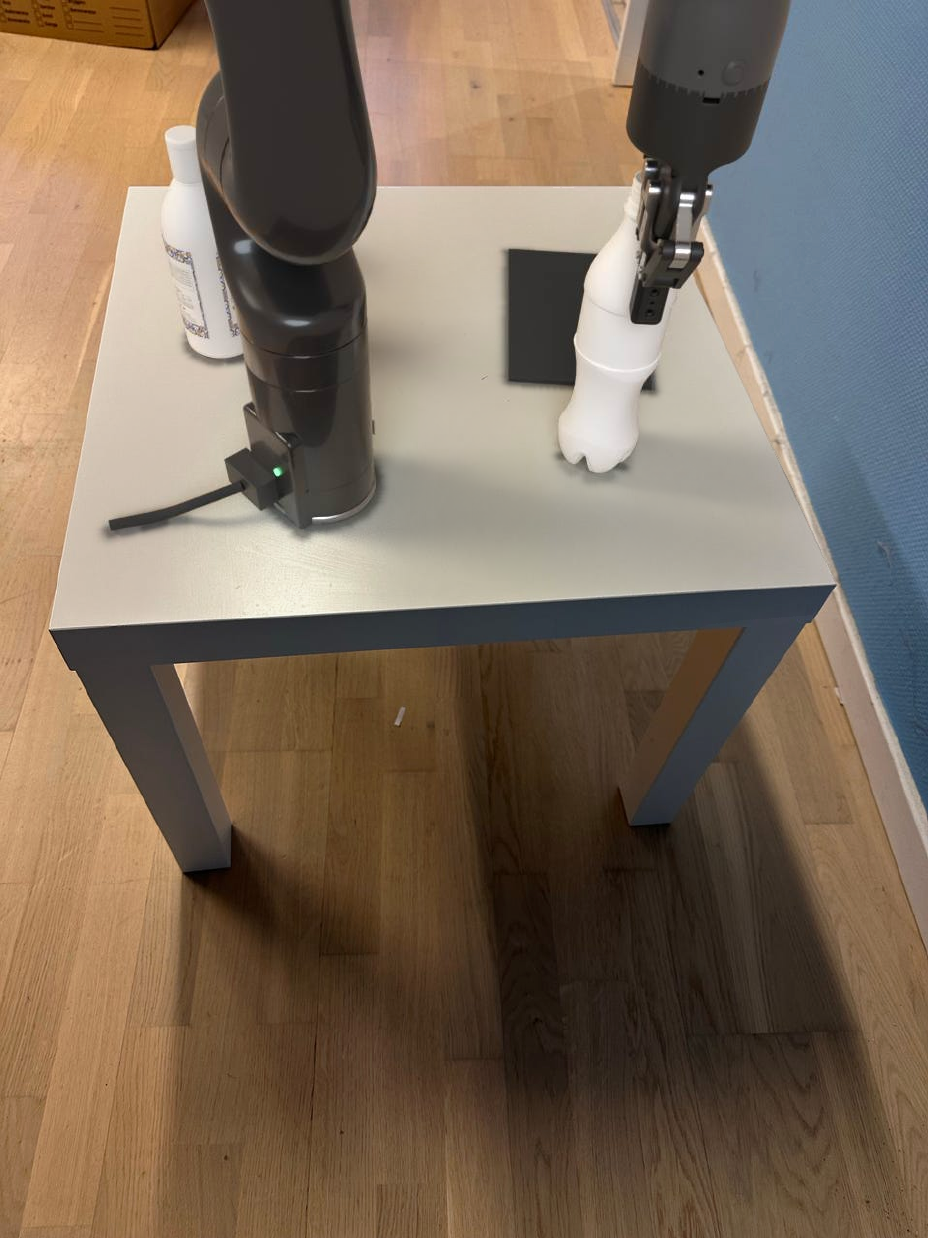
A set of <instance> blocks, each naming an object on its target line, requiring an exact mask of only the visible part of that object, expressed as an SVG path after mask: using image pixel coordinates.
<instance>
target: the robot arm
mask: <svg viewBox="0 0 928 1238" xmlns="http://www.w3.org/2000/svg"><path fill="white" fill-rule="evenodd" d="M203 1H204V4H205V7H206V11H207V14H208V19H209V22H210V26H211V31H212V34H213V39H214V44H215V49H216V54H217V58H218V60H217V61H218V65H219V70H217V72H216V73H215V74H214V76H212V78H211V79H210V80H209V82H208V84H207V85H206V86H205V90H204V91H203V94H202V95H201V99H200V101H199V105H198V109H197V113H196V119H195V128H196V148H197V156H198V162H199V168H200V173H201V178H202V183H203V187H204V192H205V197H206V202H207V206H208V211H209V216H210V220H211V225H212V229H213V234H214V238H215V243H216V248H217V252H218V257H219V261H220V265H221V268H222V272H223V275H224V278H225V281H226V283H227V286H228V289H229V292H230V294H231V297H232V300H233V304H234V307H235V312H236V317H237V322H238V327H239V333H240V338H241V343H242V349H243V354H242V355H243V360H244V365H245V371H246V376H247V382H248V387H249V393H250V397H251V401H249V402H247V403H245V404H244V405H243V406H242V412H243V417H244V423H245V429H246V432H247V437H248V442H249V448H250V449H249V448H248V447H247V446H245V447H244V448H242V449H241V450H239V451H237V452H235V453H233V454H231V455H230V456H228V457H226V458H224V460H223V461H224V465H225V470H226V473H227V478H228V482H229V483H230V484H228V485H224V486H222V487H220V488H216V489H215V490H211V491H209V492H207V493H204V494H201V495H198V496H196V497H193V498H191V499H188V500H185V501H182V502H180V503H177V504H174V505H172V506H167V507H164V508H161V509H156V510H153V511H148V512H142V513H139V514H138V513H137V514H133V515H128V516H122V517H118V518H113V519H108V526H109V528H110V531H116V530H121V529H122V530H123V529H128V528H131V527H136V526H142V525H147V524H152V523H156V522H160V521H163V520H168V519H172V518H174V517H178V516H181V515H184V514H187V513H189V512H191V511H194V510H197V509H200V508H202V507H205V506H207V505H210V504H213V503H216V502H218V501H220V500H223V499H226V498H228V497H231V496H233V495H236V494H239V493H241V494H242V495H243V497H245V498H246V499H247V500H248V501H249V502H251V504H252V505H253V506H255V508H257V509H258V511H260V512H262V511H264V510H265V509H267V508H269V507H271V506H272V505H273V506H274V507H275V508H276V509H277V510H278V511H279V512H281V513H282V514H283V515H284V516H286V517H287V518H288V519H289V520H290V521H291V522H292V523H293V524H294V525H295V526H296V527H297V528H298V529H300V530H303V529H306V528H308V527H309V526H311V525H316V524H317V525H318V524H319V525H323V524H332V523H337V522H340V521H341V522H342V521H344V520H346V519H349V518H351V517H353V516H355V515H356V514H359V512H362V510H363V509H365V507H367V505H369V503H370V502H371V501H372V498H373V497H374V495H375V492H376V487H377V474H376V473H377V472H376V468H375V452H374V451H375V450H374V436H375V435H376V427H375V420H373V412H372V391H371V390H372V388H371V368H370V365H371V364H370V346H369V345H370V342H369V321H368V319H369V318H368V299H367V297H368V295H367V287H366V281H365V278H364V275H363V271H362V269H361V266H360V264H359V262H358V258H357V255H356V252H355V250H354V248H353V246H355V244H356V243H357V242H358V241H359V239H360V237H361V236H362V234H363V233H364V231H365V230H366V228H367V226H368V223H369V221H370V218H371V216H372V214H373V210H374V206H375V201H376V198H377V191H378V190H377V189H378V179H379V175H378V161H377V155H376V154H377V153H376V147H375V142H374V135H373V131H372V126H371V120H370V114H369V110H368V104H367V99H366V94H365V93H366V92H365V89H364V88H365V87H364V82H363V77H362V76H363V75H362V72H361V71H362V70H361V64H360V60H359V54H358V49H357V43H356V37H355V29H354V22H353V17H352V15H353V14H352V7H351V0H203ZM791 4H792V0H648V2H647V5H646V11H645V16H644V22H643V28H642V33H641V38H640V44H639V49H638V53H637V55H638V56H637V61H636V65H635V66H636V67H635V71H634V77H633V81H632V82H633V83H632V89H631V95H630V100H629V104H628V111H627V116H626V121H625V130H626V134H627V137H628V139H629V141H630V142H631V144H632V145H633V146H634V148H636V149H637V151H640V153H642V159H643V164H642V168H641V170H642V173H641V182H642V186H641V196H640V203H639V208H638V214H637V227H636V232H635V235H637V241H639V246H638V251H636V259H637V264H640V265H638V267H637V272H636V277H635V281H634V286H633V290H632V295H631V299H630V304H629V310H630V319H631V322H632V323H634V324H642V325H657V324H659V323H660V322H661V320H662V316H663V312H664V308H665V305H666V301H667V297H668V293H669V289H670V288H673V289H678V290H681V289H682V287H683V286H684V285H685V283H686V282H687V281H688V280H689V278H690V277H691V276H692V274H693V273H694V272H695V271H696V269H697V268H698V266H699V265H700V264H701V262H702V260H703V258H704V256H705V247H704V246H705V245H704V242H703V241H698V240H696V239H697V236H698V233H699V229H700V225H701V222H702V218H703V217H705V216H706V215H707V213H708V212H709V210H710V209H709V208H710V206H711V202H712V198H713V193H714V183H712V182H709V176H710V175H711V173H713V172H714V171H716V170H717V169H719V168H721V167H724V166H726V165H730V164H733V163H734V162H737V161H738V160H739V159H741V158H742V157H743V156H744V155H745V154H746V153H747V152H748V151H749V149H750V147H751V146H752V142H753V139H754V136H755V133H756V129H757V125H758V122H759V118H760V115H761V112H762V110H763V109H762V108H763V105H764V103H765V102H764V101H765V98H766V94H767V92H768V88H769V85H770V82H771V79H772V75H773V71H774V68H775V65H776V61H777V59H778V54H779V51H780V47H781V46H782V45H781V44H782V41H783V38H784V34H785V31H786V28H787V24H788V20H789V15H790V10H791Z"/></svg>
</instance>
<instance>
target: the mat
mask: <svg viewBox="0 0 928 1238" xmlns="http://www.w3.org/2000/svg"><path fill="white" fill-rule="evenodd" d="M598 254H599V253H583V252H568V251H552V250H536V249H521V248H508V382H516V383H517V382H518V383H531V384H533V383H534V384H550V385H567V386H568V385H569V386H575V381H576V370H577V361H576V351H575V345H574V337H575V334H576V332H577V328H578V323H579V317H580V312H581V307H582V301H583V296H584V282H585V278H586V275H587V273H588V270H589V268H590V266H591V264H592V262H593V261H594V259H595V257H596V256H597V255H598ZM652 388H653V385H652V378H651V375H650V376H649V377H648V378H647V379H646V381H645V382H644V384H643V386H642V388H641V390H652Z"/></svg>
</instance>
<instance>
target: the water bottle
mask: <svg viewBox="0 0 928 1238" xmlns="http://www.w3.org/2000/svg"><path fill="white" fill-rule="evenodd" d="M641 173H642V169H641V170H639V171H637V172H636V173H635V175H634V177H633V179H632V184H631V189H630V193H629V194H628V196H627V201H625V203H624V205H623V212H624V214H625V215H624V217H623V219H622V222H621V224H620V225H619V227H618V229H617V230H616V231H615V233H613V235H612V236H611V237H610V239H609V240H608V241H607V242H606V243H605V244H604V245H603V246H602V248H601V250H599V252H598V253H597V254H598V255H597V256H596V257H595V259H594V261H593V262H592V264H591V266H590V268H589V270H588V273H587V275H586V278H585V282H584V296H583V301H582V307H581V312H580V317H579V323H578V328H577V332H576V334H575V337H574V345H575V351H576V361H577V370H576V381H575V385H574V388H573V392H572V396H571V399H570V400H569V403H568V405H567V406H566V408H565V409H564V410H563V411H562V413H561V414H560V416H559V419H558V425H557V435H558V437H557V438H558V444H559V448H560V451H561V453H562V455H563V457H564V458H565V459H566V461H567V462H568V463H569V464H572V465H574V466H575V465H576V464H578V463H579V462H580V461H581V460H582V459H583V458H584V457H585V460H586V464H587V467H588V471H590V472H593V473H595V474H602V473H607V472H610V470H612V469H613V468H615V467H617V465H618V464H619V463H623V462H624V461H625V460H627V458H629V457H630V456H631V455H632V453H633V451H634V449H635V447H636V445H637V441H638V439H639V436H640V424H639V400H640V395H641V392H642V389H641V388H642V386H643V384H644V382H645V381H646V379H647V378H648V377H649V376H650V377H651V375H652V374H653V372H654V371H655V370H656V368H657V367H658V365H659V363H660V360H661V356H662V347H663V344H664V339H665V335H666V332H667V330H668V329H667V328H668V325H669V321H670V318H671V317H670V316H671V313H672V310H673V307H674V305H675V304H676V301H677V297H678V293H679V292H678V290H679V289H673V288H670V289H669V293H668V297H667V301H666V305H665V308H664V312H663V316H662V320H661V322H660V323H659V324H657V325H642V324H634V323H632V322H631V319H630V310H629V304H630V299H631V295H632V290H633V286H634V281H635V277H636V272H637V267H638V265H640V264H637V259H636V251H638V246H639V241H637V235H635V232H636V227H637V214H638V208H639V203H640V196H641V186H642V182H641Z"/></svg>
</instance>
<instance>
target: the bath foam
mask: <svg viewBox="0 0 928 1238" xmlns="http://www.w3.org/2000/svg"><path fill="white" fill-rule="evenodd" d="M164 140H165V145H166V150H167V151H166V152H167V154H168V159H169V163H170V168H171V172H172V176H173V178H172V180H171V182H170V183H169V186H168V189H167V191H166V193H165V195H164V199H163V202H162V205H161V211H160V228H161V236H162V241H163V244H164V250H165V253H166V257H167V262H168V265H169V269H170V273H171V277H172V282H173V286H174V289H175V293H176V298H177V302H178V306H179V311H180V315H181V318H182V323H183V325H184V330H185V334H186V338H187V341H188V343H189V345H190V347H191V348H192V349H193V350H194V351H195V352H196V353H198V354H200V355H202V356H204V357H208V358H212V359H230V358H235V357H238V356H241V355H244V354H243V349H242V343H241V338H240V333H239V327H238V322H237V317H236V312H235V307H234V304H233V300H232V297H231V294H230V292H229V289H228V286H227V283H226V281H225V278H224V275H223V272H222V268H221V265H220V261H219V257H218V252H217V248H216V243H215V238H214V234H213V229H212V225H211V220H210V216H209V211H208V206H207V202H206V197H205V192H204V187H203V183H202V178H201V173H200V168H199V162H198V156H197V148H196V126H192V125H187V124H186V125H185V124H184V125H176V126H175V125H174V126H172V127H170V128H169V129H167V130H166V131H165V133H164Z"/></svg>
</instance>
